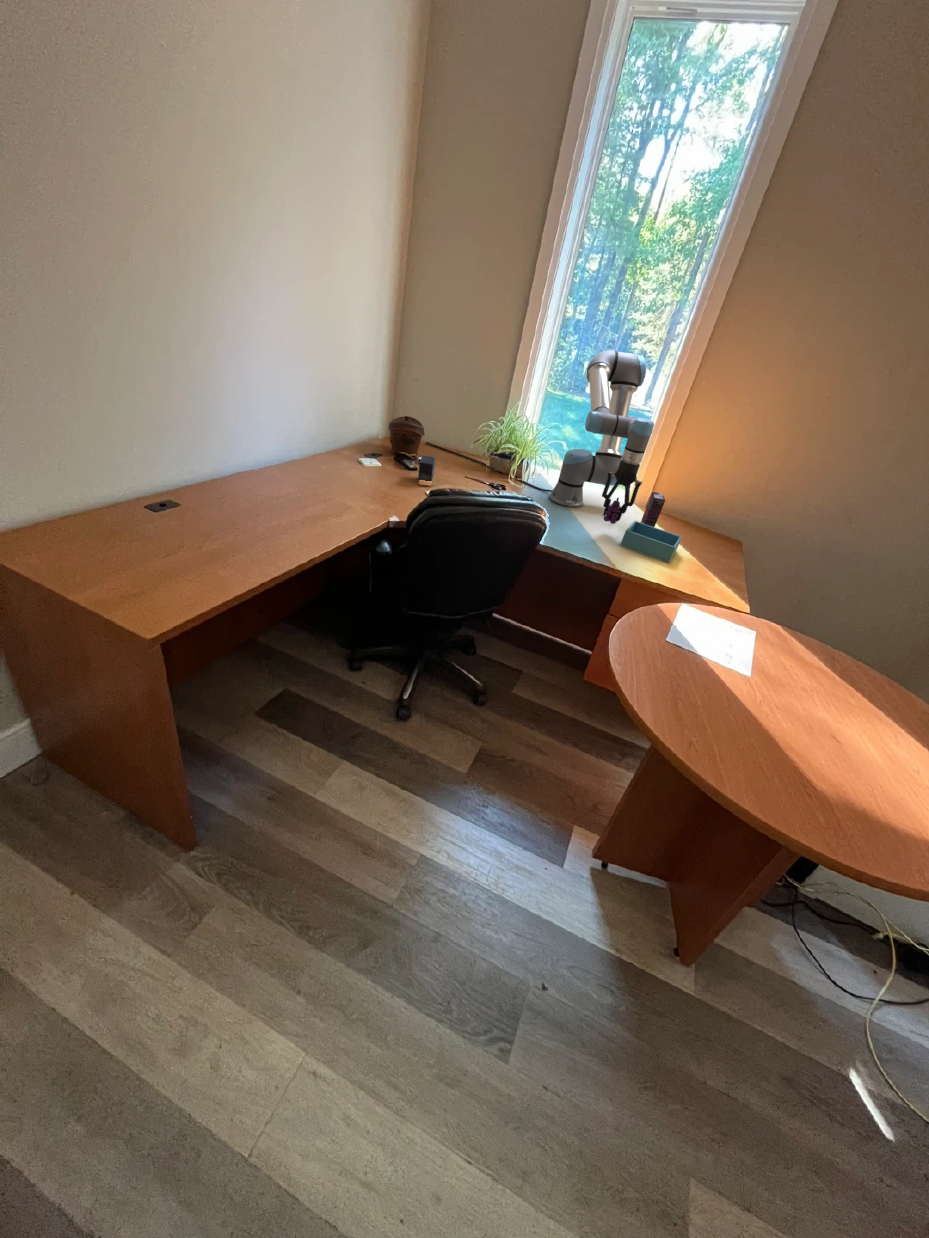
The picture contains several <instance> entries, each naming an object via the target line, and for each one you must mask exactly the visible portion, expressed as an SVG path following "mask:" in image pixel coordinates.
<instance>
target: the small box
mask: <svg viewBox="0 0 929 1238" xmlns="http://www.w3.org/2000/svg"><path fill="white" fill-rule="evenodd" d="M435 467H436V456H430V455H421V459H420V461H419V465H418V475H417V481H418V480H425V481H432V479H433V476H434V477H435V469H436V468H435ZM433 480H434V479H433Z"/></svg>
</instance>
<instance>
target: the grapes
mask: <svg viewBox="0 0 929 1238" xmlns="http://www.w3.org/2000/svg"><path fill="white" fill-rule="evenodd" d="M619 500H620V497H617V498H616V500H613V502H612V503H610V505H609V507H608V510H607V511H606V512H605V516H603V521H604V522H606V523H608V522H609V523H610V524H611V525H615V524H616V523H617V522H618V521H617V518H618V515H619V513H620V510H621V507H622V505H621V503H620V501H619Z"/></svg>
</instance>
